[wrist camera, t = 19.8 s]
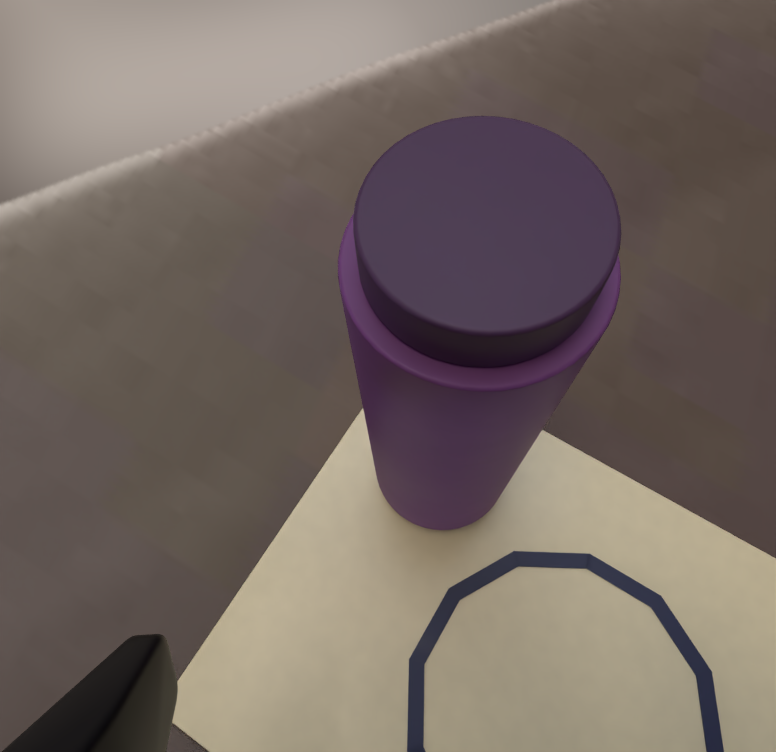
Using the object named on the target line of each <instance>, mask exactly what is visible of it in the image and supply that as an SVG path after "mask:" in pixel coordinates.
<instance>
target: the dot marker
mask: <svg viewBox="0 0 776 752" xmlns="http://www.w3.org/2000/svg"><path fill="white" fill-rule="evenodd" d="M620 241H621V223H620V215H619V211H618V206H617V202H616V199H615V197H614V194H613V192H612V189H611V187H610V186H609V184H608V182H607V180H606V178H605V177H604V175H603V174H602V173H601V171H600V170H599V169H598V167H597V166H596V165H595V164H594V163H593V162H592V161H591V159H590V158H589V157H588V156H587V155H586V154H585V153H583V152H582V151H581V150H580V149H578V148H577V147H576V146H575V145H573V144H572V143H570V142H569V141H567V140H566V139H564V138H562V137H561V136H559V135H557V134H555V133H553V132H551V131H549V130H547V129H545V128H542V127H539V126H537V125H534V124H531V123H528V122H524V121H520V120H516V119H510V118H503V117H493V116H472V117H461V118H455V119H449V120H445V121H442V122H438V123H434V124H432V125H429V126H426V127H424V128H421V129H419V130H417V131H415V132H413V133H411V134H409V135H407V136H406V137H404V138H403V139H401V140H400V141H398V142H397V143H395V144H394V145H393V146H392V147H391V148H389V149H388V150H387V151H386V152H385V153H384V154H383V155H382V156H381V157H380V158H379V159H378V160H377V162H376V163H375V164H374V165H373V167H372V168H371V170H370V171H369V173H368V174H367V176H366V177H365V179H364V182H363V184H362V186H361V188H360V190H359V193H358V196H357V199H356V203H355V208H354V214H353V215H352V217H351V219H350V221H349V223H348V225H347V227H346V229H345V232H344V235H343V238H342V242H341V245H340V250H339V257H338V279H339V286H340V292H341V297H342V302H343V307H344V312H345V317H346V322H347V328H348V333H349V338H350V343H351V348H352V353H353V358H354V363H355V368H356V374H357V379H358V384H359V389H360V394H361V399H362V404H363V409H364V414H365V420H366V425H367V430H368V435H369V440H370V445H371V450H372V455H373V461H374V466H375V471H376V476H377V480H378V484H379V487H380V489H381V491H382V494H383V496H384V497H385V499H386V500H387V502H388V503H389V504H390V506H391V507H392V508H393V509H394V510H395V511H396V512H397V513H398V514H399V515H400V516H402V517H403V518H405V519H406V520H408V521H410V522H411V523H413V524H415V525H418V526H421V527H424V528H428V529H433V530H452V529H458V528H461V527H464V526H467V525H469V524H472V523H474V522H476V521H477V520H479V519H480V518H482V517H483V516H484V515H485V514H486V513H487V512H489V511H490V509H491V508H492V507H493V506H494V505H495V503H496V502H497V500H498V498H499V497H500V495H501V494H502V492H503V491H504V489H505V487H506V486H507V484H508V483H509V481H510V480H511V478H512V476H513V475H514V473H515V472H516V470H517V469H518V467H519V465H520V464H521V462H522V461H523V459H524V458H525V456H526V454H527V453H528V451H529V450H530V448H531V447H532V445H533V443H534V442H535V440H536V439H537V437H538V436H539V434H540V432H541V431H542V429H543V428H544V426H545V425H546V423H547V421H548V420H549V418H550V417H551V415H552V414H553V412H554V410H555V409H556V407H557V406H558V404H559V403H560V401H561V399H562V398H563V396H564V395H565V393H566V392H567V390H568V388H569V387H570V385H571V384H572V382H573V381H574V379H575V377H576V376H577V374H578V373H579V371H580V370H581V368H582V366H583V365H584V363H585V362H586V360H587V358H588V357H589V355H590V354H591V352H592V351H593V349H594V347H595V346H596V344H597V343H598V341H599V340H600V338H601V336H602V335H603V333H604V332H605V330H606V329H607V327H608V325H609V323H610V321H611V319H612V316H613V314H614V312H615V309H616V305H617V301H618V297H619V292H620V282H621V274H620V261H619V257H618V253H619V249H620Z"/></svg>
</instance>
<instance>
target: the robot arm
mask: <svg viewBox="0 0 776 752" xmlns="http://www.w3.org/2000/svg"><path fill="white" fill-rule="evenodd" d="M177 694H178V685H177V678H176V674H175V670H174V666H173V662H172V658H171V653H170V649H169V645H168V642H167V640H166V638H165V637H164V636H163V635H160V634H152V635H136V636H132V637H130V638H129V639H127V640H126V641H125V642H124V643H123V644H122V645H120V646H119V647H118V648H117V649H116V650H115V651H114V652H113V653H111V654H110V655H109V656H108V657H107V658H106V659H105V660H104V661H103V662H101V663H100V664H99V665H98V666H97V667H96V668H95V669H94V670H93V671H91V672H90V673H89V674H88V675H87V676H86V677H85V678H84V679H82V680H81V681H80V682H79V683H78V684H77V685H76V686H75V687H74V688H72V689H71V690H70V691H69V692H68V693H67V694H66V695H65V696H63V697H62V698H61V699H60V700H59V701H58V702H57V703H56V704H55V705H53V706H52V707H51V708H50V709H49V710H48V711H47V712H46V713H44V714H43V715H42V716H41V717H40V718H39V719H38V720H37V721H36V722H34V723H33V724H32V725H31V726H30V727H29V728H28V729H27V730H26V731H24V732H23V733H22V734H21V735H20V736H19V737H18V738H17V739H15V740H14V741H13V742H12V743H11V744H10V745H9V746H8V747H7V748H5V749H4V750H3V751H2V752H166V749H167V744H168V740H169V735H170V730H171V725H172V721H173V716H174V711H175V706H176V701H177Z"/></svg>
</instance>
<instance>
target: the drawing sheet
mask: <svg viewBox="0 0 776 752" xmlns="http://www.w3.org/2000/svg"><path fill="white" fill-rule="evenodd" d="M177 685H178V694H177V701H176V706H175V711H174V716H173V721H172V723H174V724H175V725H176V726H177V727H179V728H180V729H181V730H182V731H184V732H185V733H186V734H188V735H189V736H190V737H191V738H193V739H194V740H195V741H196V742H198V743H199V744H200V745H201V746H203V747H204V748H205V749H206V750H208V751H209V752H776V559H775V558H774V557H772V556H770V555H768V554H766V553H765V552H763V551H761V550H759V549H757V548H755V547H754V546H752V545H750V544H748V543H746V542H745V541H743V540H741V539H739V538H737V537H736V536H734V535H732V534H730V533H728V532H726V531H725V530H723V529H721V528H719V527H717V526H716V525H714V524H712V523H710V522H708V521H707V520H705V519H703V518H701V517H699V516H697V515H696V514H694V513H692V512H690V511H688V510H687V509H685V508H683V507H681V506H679V505H678V504H676V503H674V502H672V501H670V500H668V499H667V498H665V497H663V496H661V495H659V494H658V493H656V492H654V491H652V490H650V489H649V488H647V487H645V486H643V485H641V484H639V483H638V482H636V481H634V480H632V479H630V478H629V477H627V476H625V475H623V474H621V473H620V472H618V471H616V470H614V469H612V468H610V467H609V466H607V465H605V464H603V463H601V462H600V461H598V460H596V459H594V458H592V457H591V456H589V455H587V454H585V453H583V452H581V451H580V450H578V449H576V448H574V447H572V446H571V445H569V444H567V443H565V442H563V441H562V440H560V439H558V438H556V437H554V436H552V435H551V434H549V433H547V432H545V431H543V430H542V431H541V432H540V434H539V436H538V437H537V439H536V440H535V442H534V443H533V445H532V447H531V448H530V450H529V451H528V453H527V454H526V456H525V458H524V459H523V461H522V462H521V464H520V465H519V467H518V469H517V470H516V472H515V473H514V475H513V476H512V478H511V480H510V481H509V483H508V484H507V486H506V487H505V489H504V491H503V492H502V494H501V495H500V497H499V498H498V500H497V502H496V503H495V505H494V506H493V507H492V508H491V509H490V511H489V512H487V513H486V514H485V515H484V516H483V517H482V518H480V519H479V520H477V521H476V522H474V523H472V524H469V525H467V526H464V527H461V528H458V529H452V530H433V529H428V528H424V527H421V526H418V525H415V524H413V523H411V522H410V521H408V520H406V519H405V518H403V517H402V516H400V515H399V514H398V513H397V512H396V511H395V510H394V509H393V508H392V507H391V506H390V504H389V503H388V502H387V500H386V499H385V497H384V496H383V494H382V491H381V489H380V487H379V484H378V480H377V476H376V471H375V466H374V461H373V455H372V450H371V445H370V440H369V435H368V430H367V425H366V420H365V414H364V409H363V408H362V410H361V411H360V413H359V414H358V416H357V417H356V419H355V420H354V422H353V423H352V425H351V426H350V428H349V429H348V430H347V432H346V433H345V435H344V436H343V438H342V439H341V441H340V442H339V444H338V445H337V447H336V448H335V450H334V451H333V453H332V454H331V456H330V457H329V459H328V460H327V461H326V463H325V464H324V466H323V467H322V469H321V470H320V472H319V473H318V475H317V476H316V478H315V479H314V481H313V482H312V484H311V485H310V487H309V488H308V490H307V491H306V493H305V494H304V495H303V497H302V498H301V500H300V501H299V503H298V504H297V506H296V507H295V509H294V510H293V512H292V513H291V515H290V516H289V518H288V519H287V521H286V522H285V524H284V525H283V526H282V528H281V529H280V531H279V532H278V534H277V535H276V537H275V538H274V540H273V541H272V543H271V544H270V546H269V547H268V549H267V550H266V552H265V553H264V555H263V556H262V558H261V559H260V560H259V562H258V563H257V565H256V566H255V568H254V569H253V571H252V572H251V574H250V575H249V577H248V578H247V580H246V581H245V583H244V584H243V586H242V587H241V589H240V590H239V591H238V593H237V594H236V596H235V597H234V599H233V600H232V602H231V603H230V605H229V606H228V608H227V609H226V611H225V612H224V614H223V615H222V617H221V618H220V620H219V621H218V622H217V624H216V625H215V627H214V628H213V630H212V631H211V633H210V634H209V636H208V637H207V639H206V640H205V642H204V643H203V645H202V646H201V648H200V649H199V651H198V652H197V654H196V655H195V656H194V658H193V659H192V661H191V662H190V664H189V665H188V667H187V668H186V670H185V671H184V673H183V674H182V676H181V677H180V679H179V680H178V682H177Z"/></svg>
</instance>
